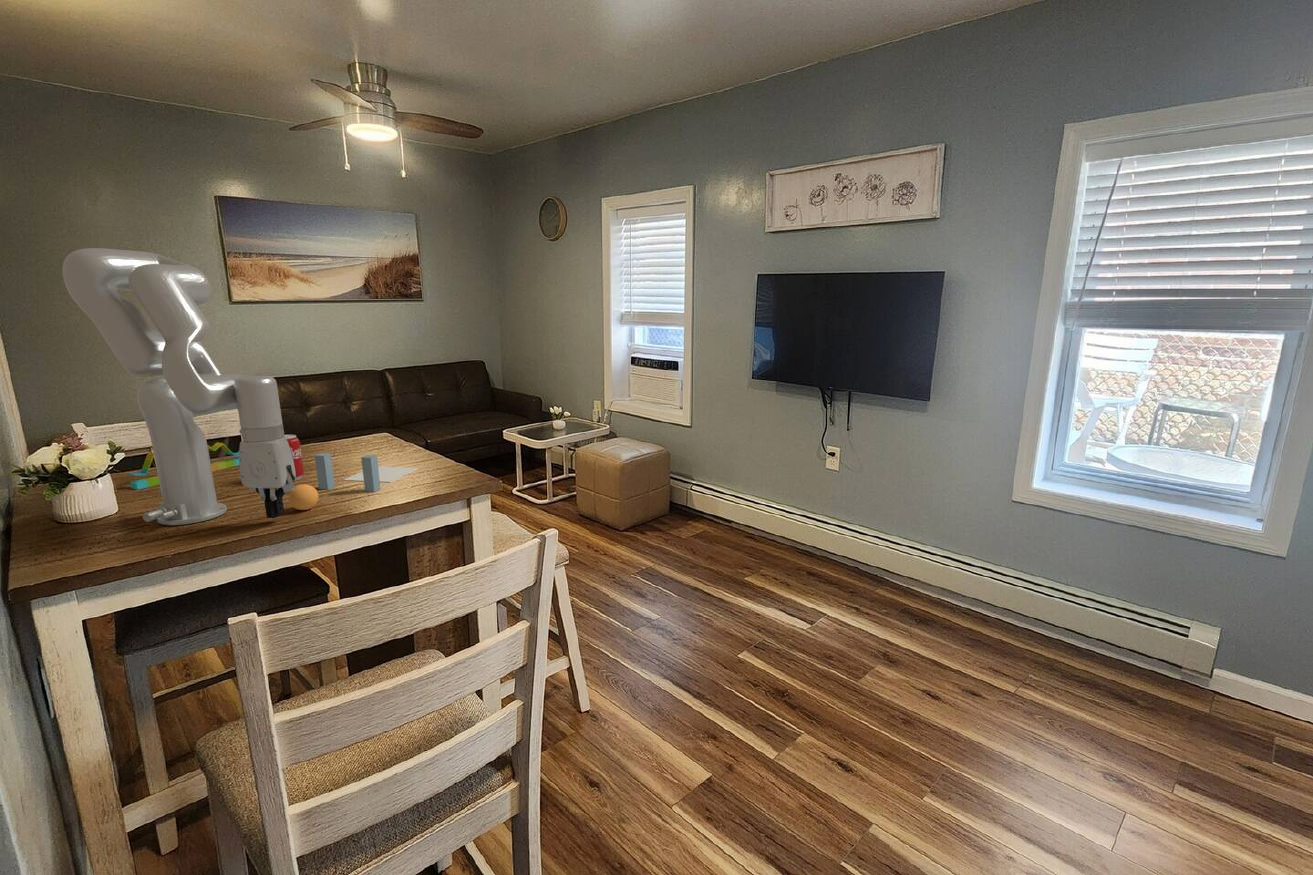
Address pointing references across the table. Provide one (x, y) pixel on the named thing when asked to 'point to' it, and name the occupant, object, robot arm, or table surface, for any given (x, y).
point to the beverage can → (296, 455)
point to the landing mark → (385, 474)
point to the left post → (324, 471)
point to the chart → (155, 480)
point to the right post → (370, 473)
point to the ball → (303, 497)
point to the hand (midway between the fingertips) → (275, 515)
